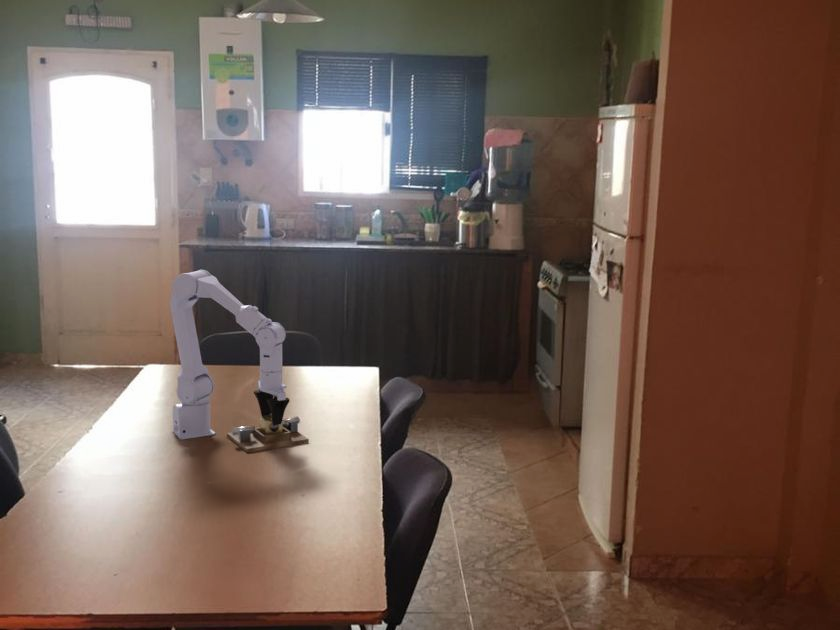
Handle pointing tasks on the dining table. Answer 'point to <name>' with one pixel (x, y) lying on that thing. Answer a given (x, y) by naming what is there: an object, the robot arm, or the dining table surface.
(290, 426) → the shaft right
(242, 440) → the shaft left
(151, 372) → the dining table surface
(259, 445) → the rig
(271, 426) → the block
